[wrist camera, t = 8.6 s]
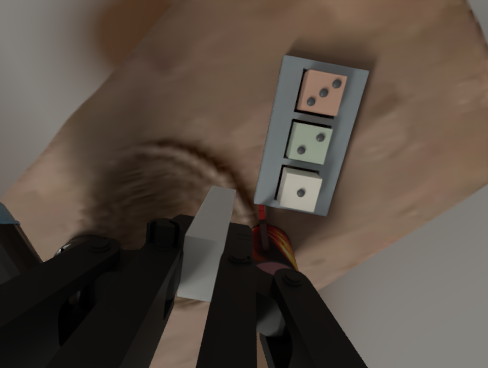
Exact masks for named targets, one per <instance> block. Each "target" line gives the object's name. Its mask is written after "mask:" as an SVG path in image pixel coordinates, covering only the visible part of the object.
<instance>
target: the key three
mask: <svg viewBox="0 0 488 368" xmlns="http://www.w3.org/2000/svg"><path fill="white" fill-rule="evenodd" d="M346 80H347V76H342V75H337V74H331V73H326V72H321V71H316V70H310V69H309V70H308V71H307V72H305V73H304V75H303V79H302V84H301V88H300V92H299V97H298V101H297V106H296V110H302V111H307V112H312V113H317V114H323V115H328V116H337V113H338V109H339V105H340V102H341V98H342V94H343V91H344V87H345V83H346Z"/></svg>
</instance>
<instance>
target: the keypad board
mask: <svg viewBox="0 0 488 368" xmlns="http://www.w3.org/2000/svg"><path fill="white" fill-rule="evenodd" d="M309 69H310V70H316V71H321V72H326V73H331V74H337V75H342V76H347V80H346V83H345V87H344V91H343V94H342V98H341V102H340V105H339V109H338V113H337V116H330V118H323V117H318V116H313V115H307V114H302V113H297V112H294V108H295V104H296V99H297V95H298V90H299V86H300V82H301V77H302V73H303V71H306V72H307V71H308V70H309ZM368 74H369V71H366V70H361V69H356V68H351V67H346V66H340V65H335V64H330V63H325V62H319V61H314V60H309V59H304V58H299V57H293V56H288V55H284V56H283V58H282V63H281V68H280V73H279V77H278V82H277V87H276V92H275V97H274V102H273V107H272V112H271V117H270V122H269V127H268V132H267V137H266V142H265V147H264V152H263V156H262V161H261V166H260V171H259V176H258V181H257V186H256V191H255V196H254V203H255V204H261V205H266V206H272V207H277V208H283V209H288V210H294V211H299V212H305V213H310V214H316V215H321V216H327V213H328V210H329V206H330V203H331V199H332V196H333V193H334V189H335V186H336V182H337V179H338V176H339V172H340V169H341V165H342V162H343V159H344V155H345V152H346V148H347V145H348V142H349V138H350V135H351V131H352V128H353V125H354V121H355V118H356V114H357V111H358V108H359V104H360V101H361V97H362V94H363V91H364V87H365V84H366V80H367V77H368ZM292 119H298V120H303V121H308V122H314V123H319V124H324V125H328V126H327V128H328V129H333V131H332V134H331V138H330V142H329V145H328V149H327V153H326V156H325V160H324V164H323V165H322V164H317V163H311V162H306V161H300V160H295V159H290V158H288V157H286V156H284V152H285V148H286V143H287V139H288V135H289V130H290V126H291V121H292ZM282 164H285V165H290V166H296V167H301V168H306V169H312V170H316V171H315V173H316V174H317V175H318V176H320V177H321V178H322V179H323V180H322V183H321V187H320V190H319V194H318V198H317V201H316V205H315V208H314V212H309V211H304V210H298V209H293V208H287V207H282V206H279V203H278V199H277V196H275V192H276V188H277V183H278V179H279V174H280V170H281V166H282Z"/></svg>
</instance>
